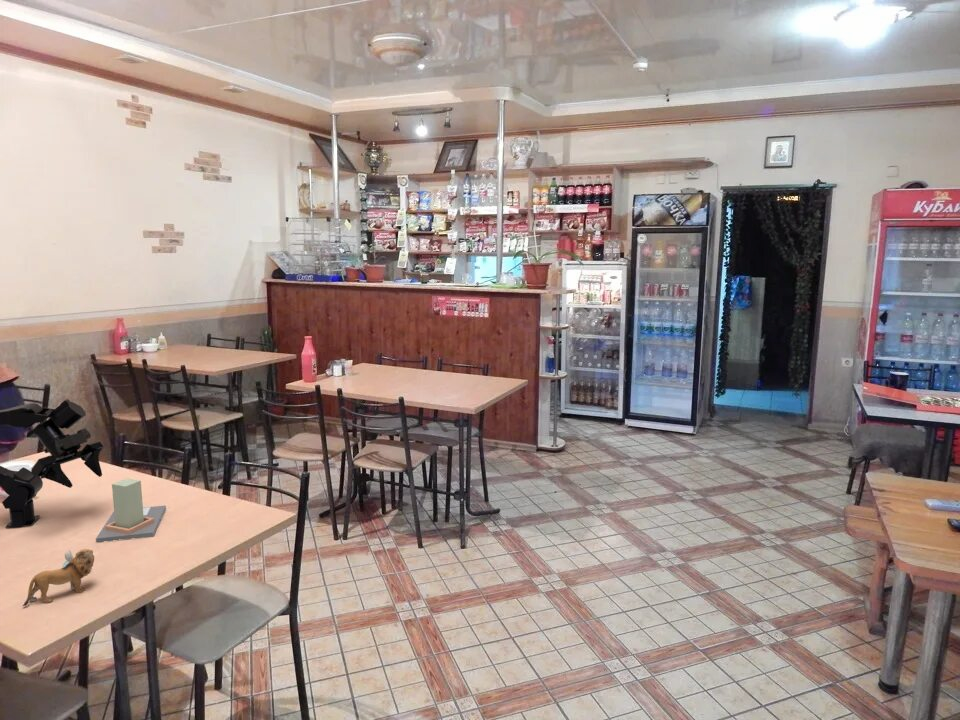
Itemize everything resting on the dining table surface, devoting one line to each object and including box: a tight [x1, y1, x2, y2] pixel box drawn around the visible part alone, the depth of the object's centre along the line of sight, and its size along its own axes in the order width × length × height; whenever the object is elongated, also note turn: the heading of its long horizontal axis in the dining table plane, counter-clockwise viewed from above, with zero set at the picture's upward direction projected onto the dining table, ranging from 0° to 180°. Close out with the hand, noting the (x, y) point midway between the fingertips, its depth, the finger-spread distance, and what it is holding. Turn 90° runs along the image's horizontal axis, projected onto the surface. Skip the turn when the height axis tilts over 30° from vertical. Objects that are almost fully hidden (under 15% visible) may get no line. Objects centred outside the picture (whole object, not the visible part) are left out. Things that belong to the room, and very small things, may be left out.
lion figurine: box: [22, 548, 95, 607], centre depth 141 cm, size 15×5×9 cm, turn 142°
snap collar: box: [105, 517, 154, 535], centre depth 175 cm, size 9×9×1 cm
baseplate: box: [95, 505, 167, 543], centre depth 179 cm, size 20×14×2 cm
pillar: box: [111, 477, 144, 529], centre depth 174 cm, size 5×5×13 cm
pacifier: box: [61, 549, 92, 573], centre depth 152 cm, size 7×6×6 cm
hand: (86, 481), depth 175 cm, fingers open, 9 cm apart
